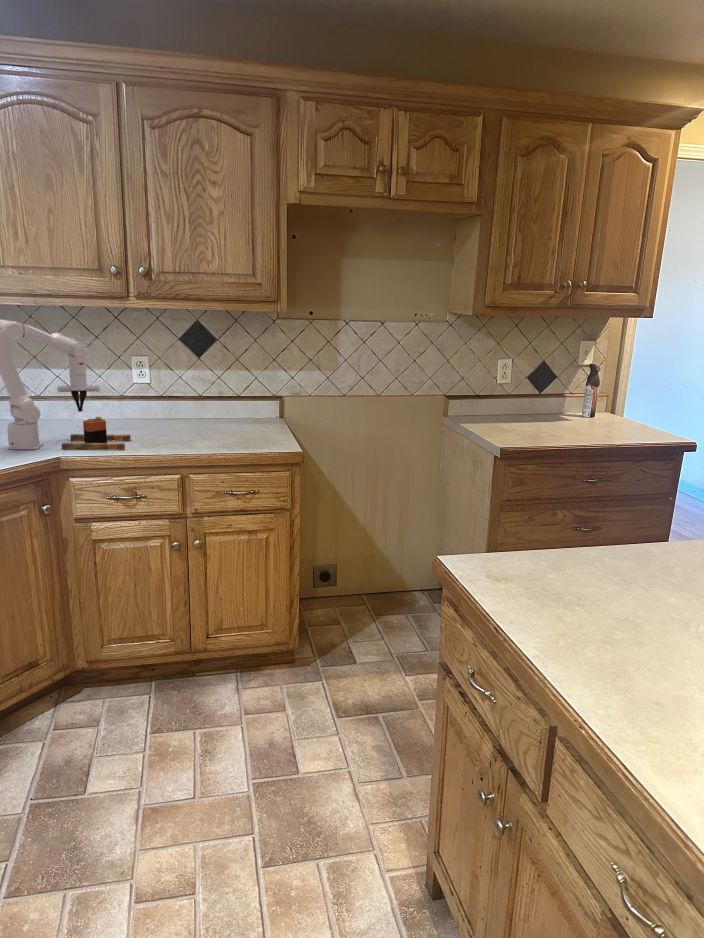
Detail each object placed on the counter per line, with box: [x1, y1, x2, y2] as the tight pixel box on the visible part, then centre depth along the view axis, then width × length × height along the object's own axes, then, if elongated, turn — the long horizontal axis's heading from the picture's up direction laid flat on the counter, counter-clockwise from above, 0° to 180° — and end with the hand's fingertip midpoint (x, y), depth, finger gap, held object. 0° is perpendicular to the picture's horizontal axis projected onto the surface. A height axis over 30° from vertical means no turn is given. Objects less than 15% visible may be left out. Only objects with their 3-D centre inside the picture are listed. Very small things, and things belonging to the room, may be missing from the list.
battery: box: [82, 416, 108, 443], centre depth 245 cm, size 4×7×10 cm, turn 142°
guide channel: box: [61, 433, 131, 451], centre depth 246 cm, size 21×15×2 cm
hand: (80, 411), depth 252 cm, fingers closed
